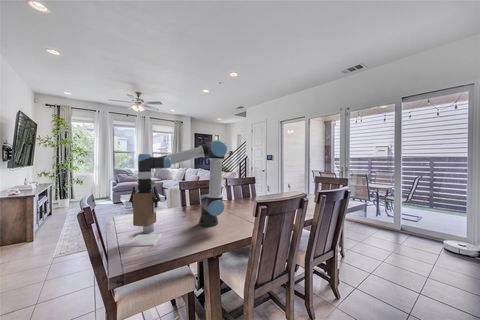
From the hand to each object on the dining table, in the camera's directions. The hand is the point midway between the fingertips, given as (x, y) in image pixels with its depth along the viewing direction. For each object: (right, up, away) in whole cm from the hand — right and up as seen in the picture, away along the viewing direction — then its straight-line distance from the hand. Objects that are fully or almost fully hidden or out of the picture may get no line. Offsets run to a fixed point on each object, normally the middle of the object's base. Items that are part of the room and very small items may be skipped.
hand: (145, 213), depth 128 cm
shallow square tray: (0, -17, 0) cm, 17 cm away
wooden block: (0, -7, 0) cm, 7 cm away
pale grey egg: (-5, -17, +16) cm, 24 cm away
